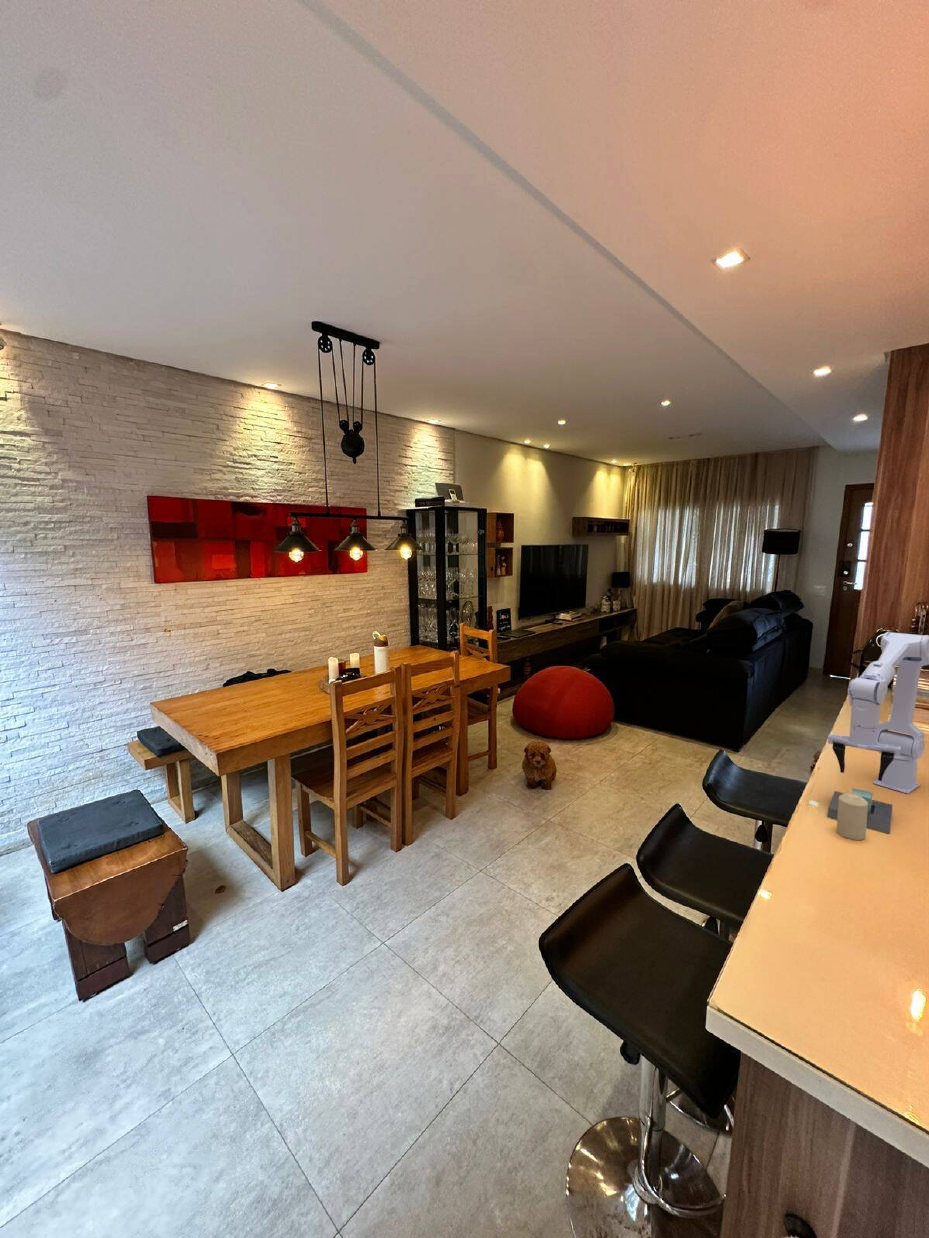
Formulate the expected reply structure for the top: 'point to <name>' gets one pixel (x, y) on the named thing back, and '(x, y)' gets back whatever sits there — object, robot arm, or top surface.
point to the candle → (852, 816)
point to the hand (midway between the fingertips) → (860, 775)
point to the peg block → (864, 797)
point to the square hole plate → (875, 819)
